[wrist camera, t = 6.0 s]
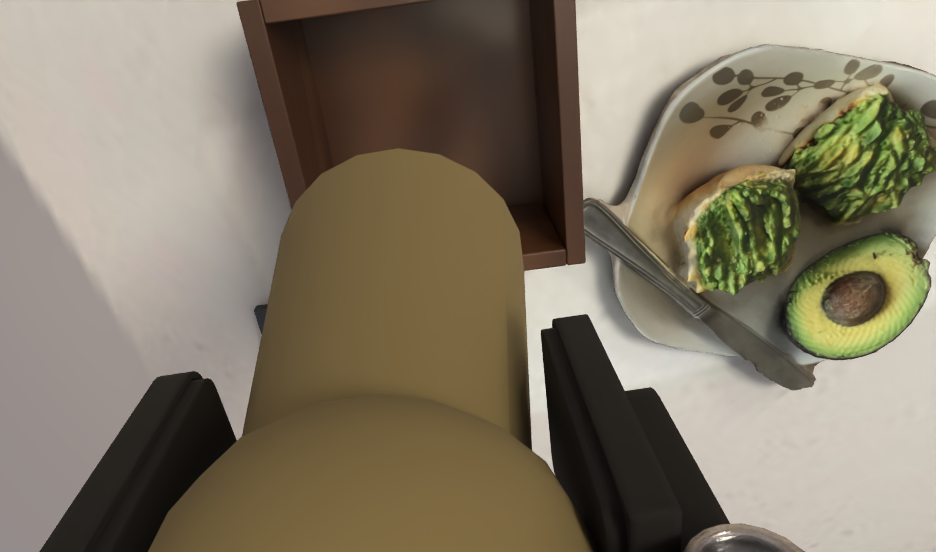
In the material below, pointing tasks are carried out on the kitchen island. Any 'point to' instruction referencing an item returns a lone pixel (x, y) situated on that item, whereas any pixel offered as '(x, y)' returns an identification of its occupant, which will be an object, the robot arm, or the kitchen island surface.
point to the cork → (387, 382)
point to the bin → (432, 97)
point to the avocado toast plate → (780, 211)
